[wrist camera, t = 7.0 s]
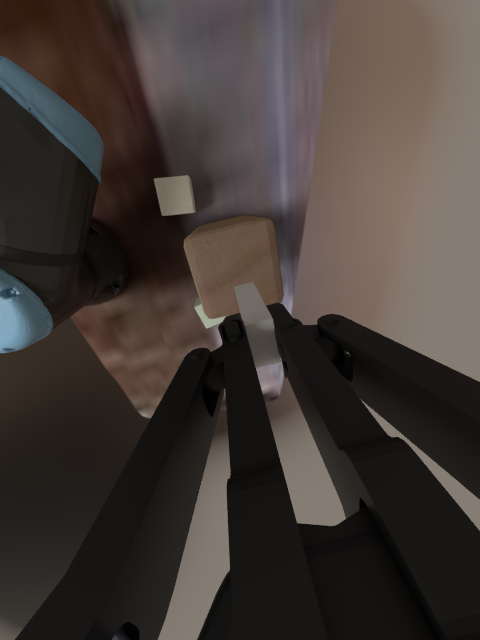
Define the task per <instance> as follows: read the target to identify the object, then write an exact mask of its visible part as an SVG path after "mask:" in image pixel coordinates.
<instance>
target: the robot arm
mask: <svg viewBox="0 0 480 640" xmlns="http://www.w3.org/2000/svg"><path fill="white" fill-rule="evenodd" d="M103 152H104V149H103V143H102V140H101V138H100V136H99V134H98V132H97V131H96V130H95V128H94V127H93V126H92V125H91V124H90V123H89V122H88V121H87V120H86V119H85V118H84V117H83V116H82V115H81V114H80V113H79V112H78V111H76V110H75V109H74V108H73V107H72V106H70V105H69V104H68V103H67V102H66V101H64V100H63V99H62V98H61V97H59V96H58V95H57V94H55V93H54V92H53V91H52V90H50V89H49V88H48V87H46V86H45V85H44V84H42V83H41V82H40V81H38V80H37V79H36V78H34V77H33V76H32V75H30V74H29V73H27V72H26V71H25V70H23V69H22V68H20V67H19V66H18V65H16V64H15V63H13V62H12V61H10V60H9V59H8V58H5V57H2V56H0V353H7V352H13V351H16V350H20V349H23V348H25V347H27V346H29V345H31V344H32V343H34V342H36V341H38V340H40V339H43V338H44V337H46V336H47V335H48V334H49V333H50V332H51V331H52V330H53V329H54V328H56V327H57V326H58V325H60V324H61V323H62V322H64V321H65V320H66V319H68V318H69V317H70V316H72V315H73V314H74V313H76V312H77V311H78V310H80V309H81V308H82V307H84V306H91V305H97V304H101V303H104V302H107V301H109V300H110V299H112V298H113V297H114V296H116V295H117V294H118V293H119V292H120V291H121V290H122V289H123V287H124V286H125V284H126V281H127V278H128V261H127V258H126V255H125V252H124V250H123V248H122V247H121V245H120V244H119V242H118V241H117V240H116V238H115V237H114V236H113V235H112V234H111V233H110V232H108V231H107V230H106V229H105V228H103V227H102V226H100V225H98V224H96V223H94V222H92V221H91V218H92V213H93V208H94V203H95V198H96V193H97V188H98V184H99V185H100V184H101V177H100V172H101V166H102V159H103ZM234 289H235V293H236V297H237V301H238V305H239V309H240V313H237V314H233V315H230V316H226V317H225V318H224V320H223V322H222V323H221V324H220V325H219V327H218V329H219V332H220V336H221V339H222V344H223V345H222V346H221V347H219V348H218V349H216V350H214V351H212V352H210V351H209V349H207V348H198V349H195V350H192V351H191V352H190V353H188V354H187V355H186V356H185V358H184V360H183V362H182V363H181V365H180V367H179V369H178V371H177V372H176V374H175V376H174V378H173V380H172V382H171V383H170V385H169V387H168V389H167V391H166V392H165V394H164V396H163V398H162V400H161V401H160V403H159V405H158V407H157V409H156V411H155V412H154V414H153V416H152V418H151V420H150V422H149V423H148V425H147V427H146V429H145V431H144V432H143V434H142V436H141V438H140V440H139V441H138V443H137V445H136V447H135V449H134V450H133V452H132V454H131V456H130V458H129V459H128V461H127V464H126V465H125V467H124V469H123V470H122V472H121V474H120V476H119V478H118V479H117V481H116V483H115V485H114V487H113V489H112V491H111V492H110V494H109V496H108V498H107V499H106V501H105V503H104V505H103V507H102V508H101V510H100V512H99V514H98V516H97V517H96V519H95V521H94V523H93V525H92V527H91V528H90V530H89V532H88V534H87V536H86V538H85V539H84V541H83V543H82V545H81V546H80V549H79V550H78V552H77V554H76V556H75V557H74V559H73V561H72V563H71V565H70V566H69V568H68V570H67V572H66V574H65V575H64V577H63V578H62V579H61V581H60V582H59V583H58V585H57V586H56V587H55V588H54V590H53V591H52V592H51V594H50V595H49V596H48V597H47V599H46V600H45V601H44V603H43V604H42V605H41V607H40V608H39V609H38V611H37V612H36V613H35V614H34V616H33V617H32V618H31V619H30V621H29V622H28V623H27V625H26V626H25V627H24V629H23V630H22V631H21V632H20V634H19V635H18V636H17V638H16V639H15V640H158V637H159V634H160V631H161V629H162V626H163V623H164V621H165V618H166V614H167V611H168V607H169V604H170V600H171V597H172V594H173V590H174V587H175V583H176V579H177V575H178V571H179V567H180V563H181V559H182V555H183V551H184V548H185V544H186V540H187V535H188V532H189V528H190V524H191V520H192V516H193V512H194V508H195V504H196V501H197V496H198V493H199V489H200V485H201V481H202V477H203V473H204V469H205V465H206V461H207V457H208V454H209V449H210V445H211V442H212V438H213V434H214V430H215V426H216V422H217V418H218V414H219V410H220V407H221V403H222V399H223V395H224V389H225V391H226V406H227V422H228V436H229V453H230V468H231V476H230V478H229V479H228V481H227V509H228V529H229V530H228V531H229V553H230V571H229V572H228V573H227V575H226V576H225V578H224V580H223V582H222V584H221V585H220V587H219V589H218V591H217V594H216V596H215V598H214V601H213V603H212V605H211V608H210V610H209V613H208V615H207V618H206V620H205V622H204V625H203V627H202V629H201V632H200V634H199V637H198V639H197V640H480V531H479V530H478V528H477V527H476V526H475V525H474V523H473V522H472V521H471V520H470V519H469V517H468V516H467V515H466V514H465V513H464V511H463V510H462V509H461V508H460V506H459V505H458V504H457V503H456V502H455V500H454V499H453V498H452V497H451V496H450V494H449V493H448V492H447V491H446V490H445V488H444V487H443V486H442V485H441V483H440V482H439V481H438V480H437V479H436V478H435V476H434V475H433V474H432V473H431V471H430V470H429V469H428V468H427V466H426V465H425V464H424V463H423V462H422V461H421V459H420V458H419V457H418V455H417V454H416V453H415V452H414V451H413V449H412V448H411V447H410V446H409V445H408V444H407V443H406V442H405V441H404V440H402V439H400V438H399V437H390V436H388V435H387V433H386V432H385V431H384V430H383V429H382V427H381V426H380V425H379V423H378V422H377V421H376V419H375V418H374V417H373V416H372V414H371V413H370V412H369V410H368V409H367V408H366V406H365V405H364V404H363V403H362V401H364V402H365V403H366V404H367V405H368V406H369V407H371V408H372V409H373V410H374V411H375V412H377V413H378V414H379V415H380V416H381V417H382V418H384V419H385V420H386V421H387V422H388V423H390V424H391V425H392V426H393V427H394V428H396V429H397V430H398V431H399V432H400V433H402V434H403V435H404V436H405V437H407V439H409V440H410V441H411V442H412V443H413V444H415V445H416V446H417V447H418V448H419V449H421V450H422V451H423V452H424V453H425V454H427V455H428V456H429V457H430V458H431V459H432V460H434V461H435V462H436V463H437V464H438V465H439V466H441V467H442V468H443V469H444V470H445V471H447V472H448V473H449V474H450V475H451V476H452V477H454V478H455V479H456V480H457V481H459V482H460V483H461V484H462V485H463V486H464V487H466V488H467V489H468V490H469V491H470V492H472V493H473V494H474V495H475V496H476V497H477V498H479V499H480V382H478V381H476V380H474V379H472V378H470V377H468V376H466V375H464V374H462V373H460V372H458V371H455V370H453V369H451V368H449V367H447V366H445V365H443V364H441V363H439V362H437V361H435V360H433V359H431V358H428V357H426V356H424V355H422V354H420V353H418V352H416V351H414V350H412V349H410V348H407V347H406V346H403V345H401V344H399V343H397V342H395V341H393V340H391V339H389V338H387V337H384V336H383V335H381V334H379V333H376V332H374V331H372V330H370V329H368V328H366V327H364V326H362V325H360V324H358V323H356V322H354V321H352V320H350V319H347V318H345V317H343V316H341V315H335V314H328V315H325V316H322V317H320V318H319V319H318V320H317V322H318V323H317V324H318V325H303V324H302V323H301V321H299V320H298V319H294V318H292V316H291V315H290V314H289V312H288V311H287V309H286V308H285V307H284V305H283V304H280V303H274V304H270V305H265V303H264V301H263V300H262V298H261V296H260V294H259V292H258V290H257V288H256V286H255V285H254V283H253V282H251V283H247V284H243V285H239V286H235V287H234ZM347 352H348V353H349V354H350V355H351V356H350V355H349V354H347ZM280 357H281V359H282V364H283V370H284V375H285V378H288V380H289V382H290V385H291V387H292V389H293V391H294V394H295V396H296V398H297V401H298V403H299V405H300V408H301V410H302V412H303V415H304V417H305V419H306V422H307V424H308V426H309V429H310V430H311V433H312V435H313V438H314V440H315V443H316V445H317V447H318V449H319V452H320V454H321V456H322V459H323V461H324V463H325V466H326V468H327V470H328V473H329V475H330V477H331V480H332V482H333V484H334V487H335V489H336V491H337V493H338V496H339V498H340V501H341V503H342V506H343V510H344V513H345V516H346V519H345V520H344V521H342V522H341V523H340V524H338V525H336V526H322V525H310V524H298V523H297V522H296V518H295V514H294V511H293V507H292V503H291V500H290V495H289V492H288V488H287V484H286V480H285V476H284V473H283V469H282V465H281V462H280V458H279V454H278V451H277V447H276V443H275V439H274V435H273V432H272V428H271V424H270V421H269V417H268V413H267V409H266V405H265V401H264V398H263V394H262V390H261V386H260V383H259V379H258V375H257V371H256V368H258V367H262V366H266V365H269V364H273V363H277V362H281V360H280ZM359 398H360V399H361V400H362V401H361V400H360V399H359Z"/></svg>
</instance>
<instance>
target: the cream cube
mask: <svg viewBox="0 0 480 640" xmlns="http://www.w3.org/2000/svg"><path fill="white" fill-rule="evenodd" d="M154 183H155V187H156V192H157V196H158V201H159V205H160V210H161V214H162V216H168V215H178V214H187V213H196V207H195V201H194V194H193V188H192V182H191V179H190V177H189V176H188V175H185V176H175V177H165V178H155V179H154Z"/></svg>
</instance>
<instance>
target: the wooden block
mask: <svg viewBox="0 0 480 640" xmlns="http://www.w3.org/2000/svg"><path fill="white" fill-rule="evenodd" d="M184 250H185V253H186V256H187V260H188V263H189V266H190V269H191V272H192V276H193V279H194V282H195V285H196V288H197V292H198V295H199V298H200V301H201V304H202V308H203V311H204V314H205V315H206V316H207V317H208V318H209V319H216V318H220V317H224V316H228V315H233V314H237V313H240V309H239V305H238V301H237V297H236V293H235V289H234V287H235V286H239V285H243V284H247V283H251V282H253V283H254V285H255V286H256V288H257V290H258V292H259V294H260V296H261V298H262V300H263V301H264V303H265V305H270V304H274V303H280V302H282V300H283V295H284V293H283V285H282V278H281V270H280V263H279V256H278V248H277V241H276V233H275V226H274V224H273V222H272V220H271V219H268V218H262V217H256V216H249V215H241V216H237V217H233V218H228V219H224V220H220V221H216V222H212V223H207V224H203V225H200V226H198V227H197V228H196V229H195V230H194V231H193V232H192V233H191V234H190V235H189V236H188V237H187V238H186V239H184Z"/></svg>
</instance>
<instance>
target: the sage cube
mask: <svg viewBox="0 0 480 640" xmlns="http://www.w3.org/2000/svg"><path fill="white" fill-rule="evenodd" d="M194 308H195V310H196V311H197V313H198V315H199V316H200V318H201V320H202V322H203V323H204V325H205V327H206V329H207V328H209V327H211V326H214V325H216V324H218V323H221V322H223V320H224V318H225V317H226V316H224V317H220V318H216V319H209V318H208V317H207V316H206V315H205V314H204V311H203V308H202V304H201V301H200V298H199V297H198V298H196V301H195V306H194ZM228 316H229V315H228Z"/></svg>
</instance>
